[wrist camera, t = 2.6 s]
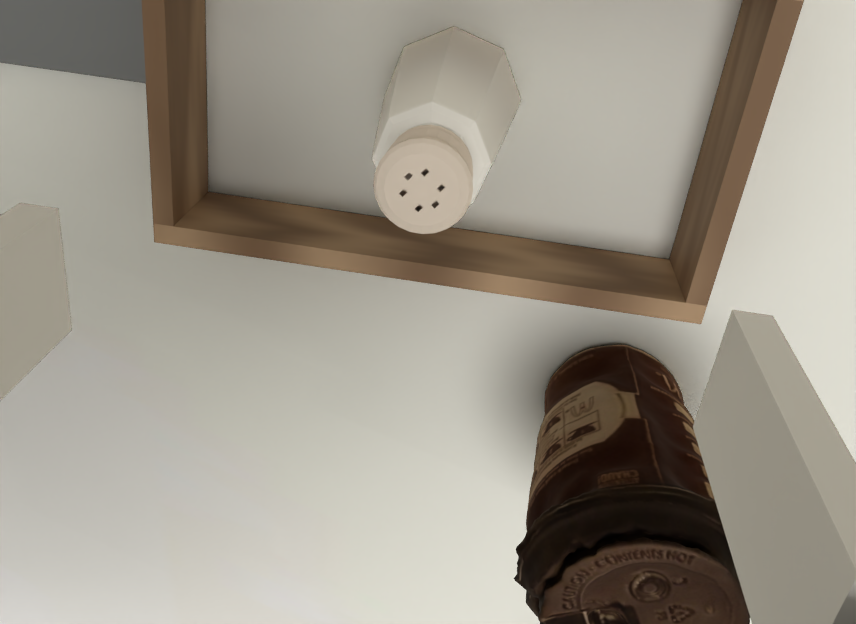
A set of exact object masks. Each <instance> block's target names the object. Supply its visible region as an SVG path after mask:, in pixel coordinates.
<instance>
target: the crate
mask: <svg viewBox="0 0 856 624" xmlns="http://www.w3.org/2000/svg"><path fill="white" fill-rule="evenodd" d="M803 2H804V0H743V2H742V5H741V9H740V12H739V16H738V19H737V23H736V26H735V30H734V33H733V37H732V40H731V44H730V47H729V51H728V55H727V58H726V62H725V65H724V69H723V72H722V76H721V79H720V83H719V86H718V90H717V93H716V97H715V100H714V104H713V107H712V111H711V114H710V118H709V121H708V125H707V129H706V132H705V136H704V139H703V143H702V146H701V150H700V153H699V157H698V160H697V164H696V167H695V171H694V174H693V178H692V181H691V185H690V188H689V192H688V195H687V199H686V203H685V206H684V210H683V213H682V217H681V220H680V224H679V227H678V231H677V234H676V238H675V241H674V245H673V248H672V252H671V255H670V259H662V258H655V257H648V256H641V255H635V254H628V253H621V252H614V251H607V250H601V249H594V248H587V247H580V246H573V245H567V244H560V243H553V242H546V241H539V240H533V239H526V238H519V237H512V236H505V235H499V234H492V233H485V232H478V231H471V230H465V229H458V228H451V227H450V228H448V229H446V230H443V231H440V232H437V233H431V234H419V233H413V232H409V231H407V230H404V229H402V228H400V227H398V226H397V225H395V224H394V223H393V222H391V221H390V220H389V219H388V218H383V217H376V216H370V215H363V214H356V213H349V212H342V211H336V210H329V209H322V208H315V207H308V206H302V205H295V204H288V203H281V202H274V201H268V200H261V199H254V198H247V197H240V196H234V195H227V194H220V193H213V192H208V141H207V83H206V25H205V0H142V18H143V37H144V56H145V75H146V94H147V113H148V132H149V151H150V170H151V189H152V208H153V227H154V242H156V243H163V244H170V245H176V246H183V247H190V248H196V249H203V250H210V251H216V252H223V253H230V254H236V255H243V256H250V257H256V258H263V259H270V260H276V261H283V262H290V263H297V264H303V265H310V266H317V267H323V268H330V269H337V270H343V271H350V272H357V273H363V274H370V275H377V276H383V277H390V278H397V279H403V280H410V281H417V282H423V283H430V284H437V285H443V286H450V287H457V288H463V289H470V290H477V291H483V292H490V293H497V294H503V295H510V296H517V297H523V298H530V299H537V300H543V301H550V302H557V303H563V304H570V305H577V306H583V307H590V308H597V309H603V310H610V311H617V312H623V313H630V314H637V315H643V316H650V317H657V318H663V319H670V320H677V321H683V322H690V323H697V324H701V323H702V319H703V316H704V313H705V310H706V307H707V304H708V301H709V297H710V294H711V291H712V288H713V285H714V282H715V279H716V275H717V272H718V269H719V266H720V263H721V260H722V257H723V253H724V250H725V247H726V244H727V241H728V238H729V235H730V231H731V228H732V225H733V222H734V219H735V216H736V213H737V209H738V206H739V203H740V200H741V197H742V194H743V190H744V187H745V184H746V181H747V178H748V175H749V172H750V168H751V165H752V162H753V159H754V156H755V153H756V150H757V146H758V143H759V140H760V137H761V134H762V131H763V128H764V124H765V121H766V118H767V115H768V112H769V109H770V106H771V102H772V99H773V96H774V93H775V90H776V87H777V84H778V80H779V77H780V74H781V71H782V68H783V65H784V62H785V58H786V55H787V52H788V49H789V46H790V43H791V40H792V36H793V33H794V30H795V27H796V24H797V21H798V18H799V14H800V11H801V8H802V5H803Z"/></svg>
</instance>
